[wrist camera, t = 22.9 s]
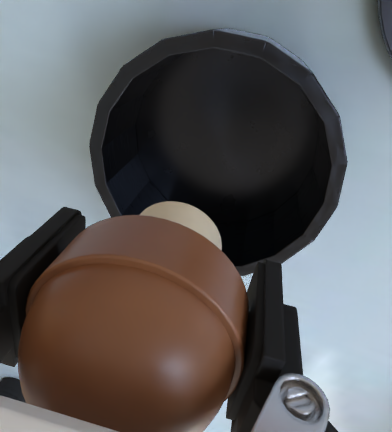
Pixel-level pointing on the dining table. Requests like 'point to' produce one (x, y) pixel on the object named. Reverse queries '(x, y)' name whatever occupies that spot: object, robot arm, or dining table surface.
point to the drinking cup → (11, 389)
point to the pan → (223, 141)
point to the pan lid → (386, 22)
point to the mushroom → (137, 324)
